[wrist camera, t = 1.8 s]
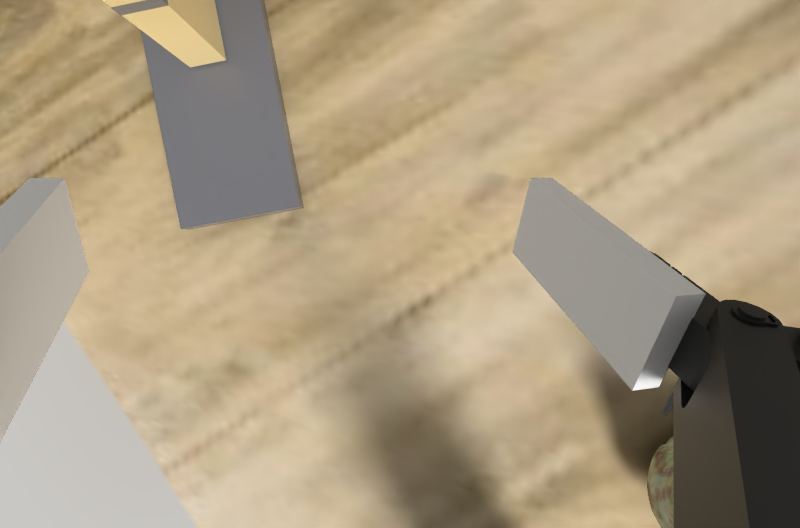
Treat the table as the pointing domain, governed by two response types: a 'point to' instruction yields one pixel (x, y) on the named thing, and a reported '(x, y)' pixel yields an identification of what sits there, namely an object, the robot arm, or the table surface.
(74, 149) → the table surface
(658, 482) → the seashell
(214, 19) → the tan cardboard parcel
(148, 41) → the base
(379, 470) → the table surface
